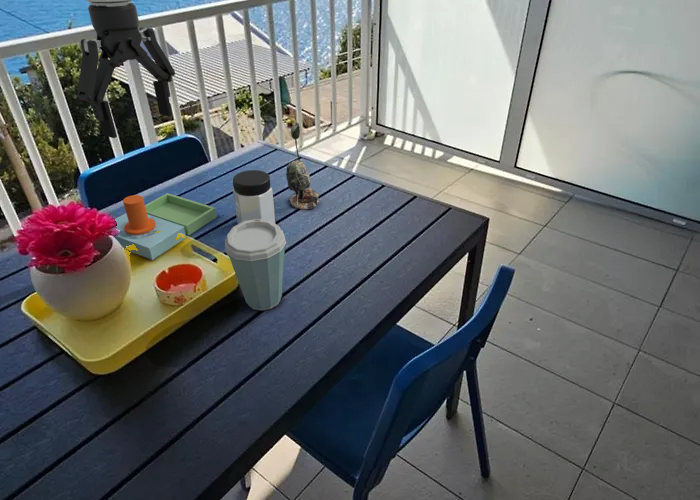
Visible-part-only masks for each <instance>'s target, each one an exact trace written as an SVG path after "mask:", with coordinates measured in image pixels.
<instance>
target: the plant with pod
mask: <svg viewBox="0 0 700 500" xmlns="http://www.w3.org/2000/svg"><path fill="white" fill-rule="evenodd" d="M300 128H301V127H300V124H299V122H296V121H295V122H294V124H293V125H292V126H291V128H290V136H291V137H292V139H293V140H294V144H295V149H296V155H297V159H295V160H293V161H290V162H289V163H288V164H286V163H284V165H285V166H286V165H287V166H286V172H285V173H286V174H285V176H286V181H287V186H288V189H289V190H290V191H293V192H294V193H295V194H293V195H292V196H291V197H289V202H290V204H291V206H292V207H293V208H296V209H300V210H312V209H315V208H316V207H317V206H318V204H319V202H320V200H319V197H320V196H319V193H318V192H316V191H314V190H313V188H311V176H310V174H309V171H308V169H307V166H306V164H305V163H304V161H302V160H300V155H299V150H298V142H297V141H298V139H299V138H300V135H301V129H300Z"/></svg>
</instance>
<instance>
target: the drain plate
mask: <svg viewBox="0 0 700 500" xmlns="http://www.w3.org/2000/svg"><path fill="white" fill-rule="evenodd" d="M147 216H148V218H150V219H153V220H154V221H155V224H156V226H155V228H154V229H153V230H152V231H150V232H148V233H145V234H141V235H131V234H128V233H126V232H125V229H124V226H125V225H126V224H127V223H128V222H129V221H128V217H127V214H126V212H125V213H123V214H121V215H119V216H118V217H115V218H114V219H115V221H116V222H117V226H116V227H117V229H118V230H120V234H119V235H118V236H116V237H115V238H116V239H117V240H118V241H119V242H120V244H121V245H122V246H123V247H124V248H126V246H129V245H132V244H134V245H135V246H136V248H137V249H138V251H136V250H131V251H129V252H130V253H133V254H135V255H137V256H140V257H143V258H146V259H148V260H151V261H153V260H154V259H155V260H156V259H157V258H158V257H159V256H161V255H162V254H164V253H165V252H167V251H169V250H170V249H171V248H173V247H174V246H176V245H178V244H179V243H180V242H182V241H184V240H185V239H186V238H182V237H180V238H179V239H177V240H176V237H177V234H178V233H182V234H185V229H184V226H181V225H178V224H175V223H172V222H169V221H166V220H163V219H160V218H157V217H154V216H151V215H148V214H147ZM157 231H161V232H158V233H155V232H157ZM185 235H186V234H185ZM186 236H187V235H186Z"/></svg>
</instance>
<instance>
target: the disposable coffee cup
mask: <svg viewBox="0 0 700 500" xmlns="http://www.w3.org/2000/svg"><path fill="white" fill-rule="evenodd" d="M286 244H287V241H286V236H285V234H284V231H283V229H281V227H280V225H278V223H277V224H276V222H275V223H274V222H272V221H270V220H263V219H254V220H247V221H243V222H241V223H240V224H238V223H237V224H236V225H234V226H232V228H231V229H230V230H229V232H228V233H227V235H226V237H225V239H224V248H225V249H224V250H225V253H226V254H227V255H228V258H229V260H230V264H231V265H232V268H233V271H234V273H235V277H236V280H237V282H238V285H239V287H240V291H241V292H242V294H243V295H242V296H243V298H244V300H245V303H246V304H247V305H248V307H250V308H251V309H252V310H255V311H261V312H262V311H267V310H271V309H273V308H275V307H276V306H278V305H279V303H280V301H281V298H283V285H284V284H283V283H284V269H285V268H284V266H285V253H286V252H285V251H286V250H285V249H286Z"/></svg>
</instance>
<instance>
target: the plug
mask: <svg viewBox="0 0 700 500" xmlns="http://www.w3.org/2000/svg"><path fill="white" fill-rule="evenodd" d="M122 202H123V206H124V210H125V213H126V214H127V217H128V221H129V222H128V223H127V224H126V225H125V226H124V229H125V232H126V233H128V234H131V235H141V234H145V233H148V232H150V231H152V230H153V229H154V228H155V226H156V224H155V221H154V220H153V219H150V218H148V216H147V212H146V208H145V205H146V204H145V199H144V196H142V195H139V194H134V195H128V196H126V197H124V198H123V200H122Z"/></svg>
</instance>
